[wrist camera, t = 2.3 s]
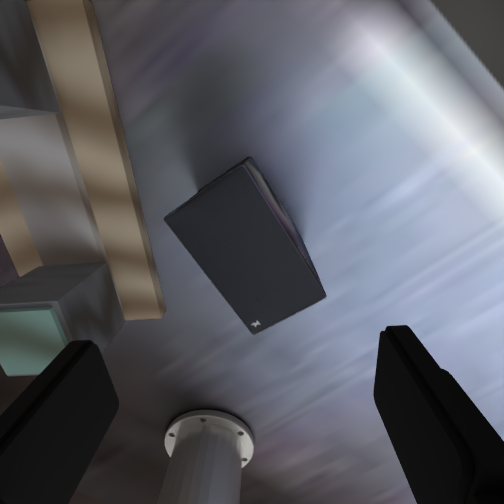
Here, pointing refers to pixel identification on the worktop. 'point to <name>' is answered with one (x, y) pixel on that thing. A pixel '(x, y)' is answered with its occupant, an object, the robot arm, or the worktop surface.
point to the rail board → (65, 190)
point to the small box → (248, 247)
